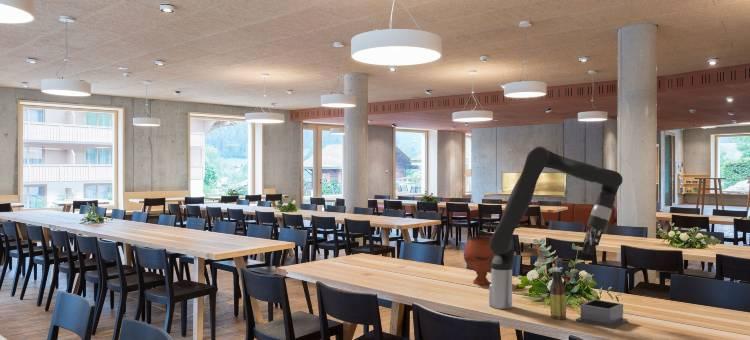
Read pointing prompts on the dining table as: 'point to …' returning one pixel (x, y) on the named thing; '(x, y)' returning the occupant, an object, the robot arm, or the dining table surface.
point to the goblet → (479, 257)
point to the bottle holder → (602, 314)
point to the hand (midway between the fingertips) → (587, 253)
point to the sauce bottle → (557, 296)
